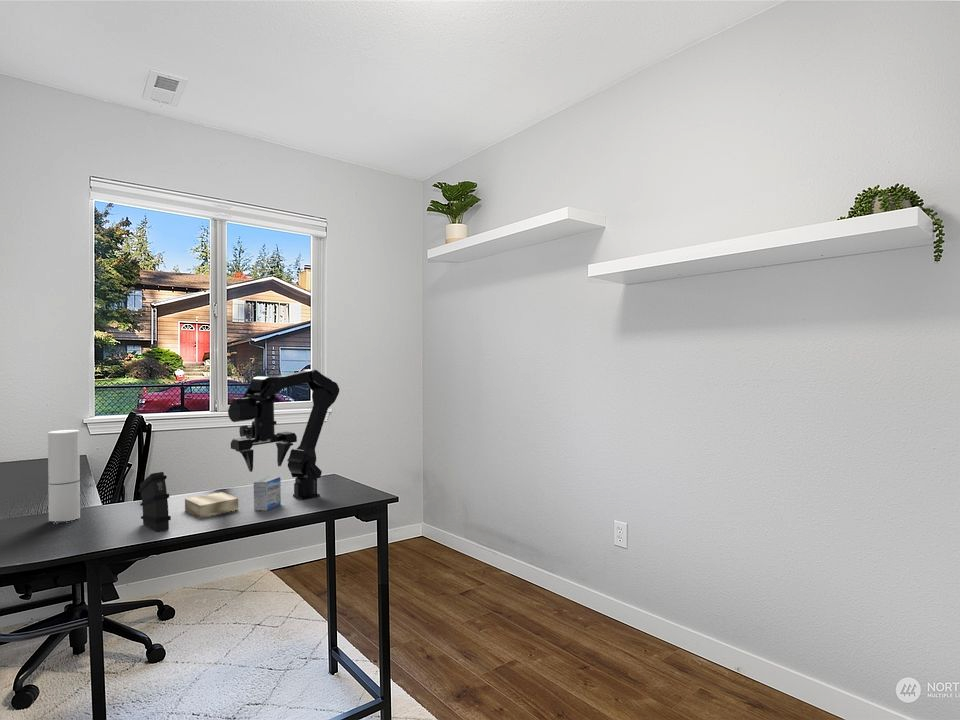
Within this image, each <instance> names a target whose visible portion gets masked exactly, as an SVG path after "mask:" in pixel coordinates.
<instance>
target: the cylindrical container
mask: <svg viewBox="0 0 960 720" xmlns="http://www.w3.org/2000/svg"><path fill="white" fill-rule="evenodd" d="M47 454H48V455H47V459H48V460H47V461H48V464H47V466H48V467H47V471H48V472H47V473H48V474H47V476H48V477H47V478H48V484H47V485H48V522H49V521H55V522H56V521H70V520H75V519H78V518H79V519H81V489H80V488H81V486H80V485H81V479H80V477H81V476H80V475H81V473H80V472H81V469H80V467H81V465H80V463H81V461H80V460H81V459H80V430H79V429H60V430H52V431H48V432H47ZM79 519H78V520H79ZM75 521H76V520H75Z"/></svg>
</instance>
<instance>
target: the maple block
mask: <svg viewBox="0 0 960 720" xmlns="http://www.w3.org/2000/svg"><path fill="white" fill-rule="evenodd" d="M235 510H237V511H239V498H238V497H236V496H233V495H231V494H228V493H225V492H224V491H220V492H214V493H208V494H204V495H197V496H193V497H188V498H184V511H185V512H186V511H187V513H188V512H189V514H190V513H191V514H190V515H193V516H195V517H196V518H199V517H200V518H199V519H202V517H203V518H208V517H212V516H211V515H213V516H216V514H218V515H222V513H223V514H226V512H227V513H231V512H230V511H232V512H235ZM207 516H208V517H207Z"/></svg>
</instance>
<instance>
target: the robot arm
mask: <svg viewBox="0 0 960 720" xmlns="http://www.w3.org/2000/svg"><path fill="white" fill-rule="evenodd" d="M302 384H307V386H308V388H309V389H310V390H311V391H312V394H311V395H312V396H311V397H312V399H311V400H312V404H313V405H312V409H311V411H310V415H309V417H308V420H307V423H306V426H305V428H304V432H303V435H302V438H301V441H300V444H299V446H298V447H297V448H292V449H290V448H291V446H293V445H294V443H297V442H298V436H297V434H296V433H295V432H292V431H282V432H277V433H276V431H275V426H276V425H277V420H275V403H278V402H279V403H280V402H281V399H279V397H277V396H276V394H278V393H280V392H281V391H282V390H284V389H286V388H291V387H295V386H299V385H302ZM339 393H340V387H339V384H338V382H336V381H333V380H332V379H331V378H329V377H327V376H326V375H324V374H322V373H321V372H320V371H319V370H317V369H311V368H310V369H309V368H308V369H307V368H306V369H304V370H302V371H301V370H300V371H296V372H292V373H288V374H283V375H277V376H255V377H253V378H252V379H251V381H250V383H249V386H248V388H247V389H246V391H245V393H244V394H243V396H242V397H241V398H240V397H239V398H238V397H237V398H234V397H233V398H232V402H231V403H230V405H229V406H228V409H227V415H228V417H229V420H230V421H232V423H238V422H245V421H251V420H252V421H251V426H248V425H247V424H246V425H241V426H239V436H240V438H238V437H237V438H233V439H232V440H231V442H230V449H232V450H235V452H238V453H240V454H241V455H242V457H243V459H244V461H245V464H246V466H247V469H248V471H249V472H250V473H252V472H253V469H254V449H252V448H253V447H254V446H258V445H265V444H272V443H275V446H276V449H277V456H276V457H277V461H276V463H277V467H281V466H282V464H283V463H284V460H285V458H286V455H287V453H288V451H289V449H290V453H289V457H288V459H286V461H287V468H288V470H289V472H290V475H291V477H292V478H294V483H293V494H292V497H294V498H297V499H300V500H306V499H310V498H317V497H319V496H321V495H320V493H318V479H320V478H321V476H322V472H323V471H322V470H321V469H320V467H318V465H317V464H316V463H317V454H316V447H317V443H318V441H319V438H320V435H321V432H322V428H323V425H324V421H325V419H326V415H327V413H328V410H329V408H330V407H331V406H332V405H333V404H334V403H335V402H336V400H337V397H339Z"/></svg>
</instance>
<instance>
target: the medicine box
mask: <svg viewBox="0 0 960 720" xmlns="http://www.w3.org/2000/svg"><path fill="white" fill-rule="evenodd" d="M281 484H282V483H281V477H280V476H267V477H265V478H261V479H259V480H257V481H254V482H253V511H259V510H261V512H262V511H263V512H268V511H269V510H273V508H276V507H278V506H280V505H281V503H282V502H281V501H282V497H281V494H282V493H281V491H282V489H281V486H282V485H281Z"/></svg>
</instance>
